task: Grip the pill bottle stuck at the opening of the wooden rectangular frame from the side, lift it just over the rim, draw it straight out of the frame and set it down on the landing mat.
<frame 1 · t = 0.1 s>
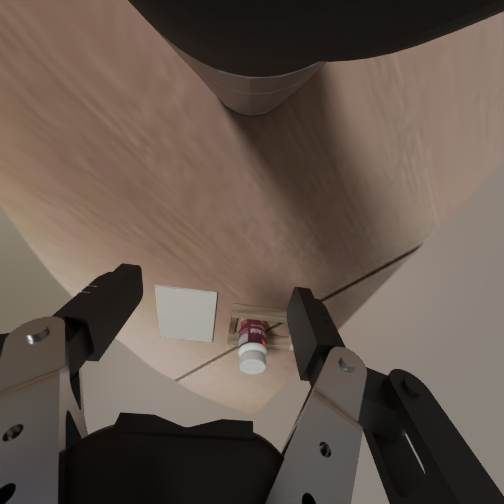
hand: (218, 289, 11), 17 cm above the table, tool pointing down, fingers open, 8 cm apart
landing mat: (186, 315, 36), on the table
wooden rectangular frame: (265, 323, 38), on the table
pill bottle: (252, 321, 38), resting in wooden rectangular frame
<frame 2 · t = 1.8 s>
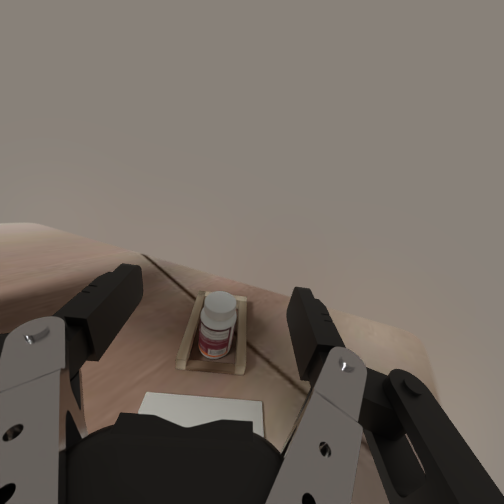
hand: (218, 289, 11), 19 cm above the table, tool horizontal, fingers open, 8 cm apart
landing mat: (195, 458, 19), on the table
wooden rectangular frame: (217, 330, 31), on the table
pill bottle: (214, 345, 29), resting in wooden rectangular frame
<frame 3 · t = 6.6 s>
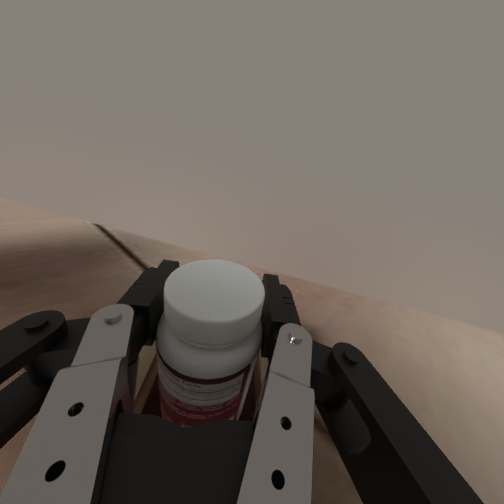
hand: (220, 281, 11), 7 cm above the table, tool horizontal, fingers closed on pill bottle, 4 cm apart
wooden rectangular frame: (210, 358, 14), on the table
pill bottle: (203, 399, 12), resting in wooden rectangular frame, touching gripper
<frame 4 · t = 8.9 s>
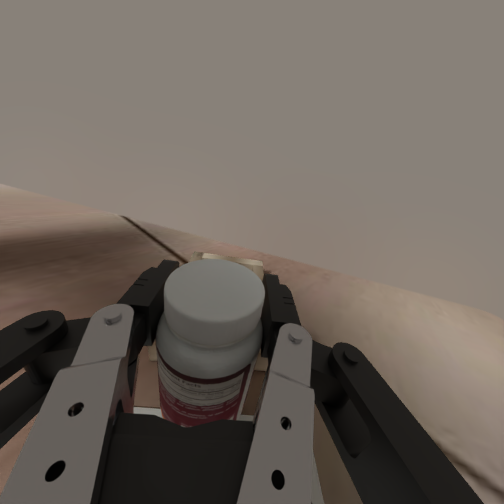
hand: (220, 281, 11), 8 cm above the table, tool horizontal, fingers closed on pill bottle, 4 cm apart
wooden rectangular frame: (220, 304, 20), on the table
pill bottle: (203, 398, 12), point 1 cm above the table, touching gripper
when the fingers open (8 cm above the table, at t = 11.2 s): pill bottle stays where it is, resting on landing mat.
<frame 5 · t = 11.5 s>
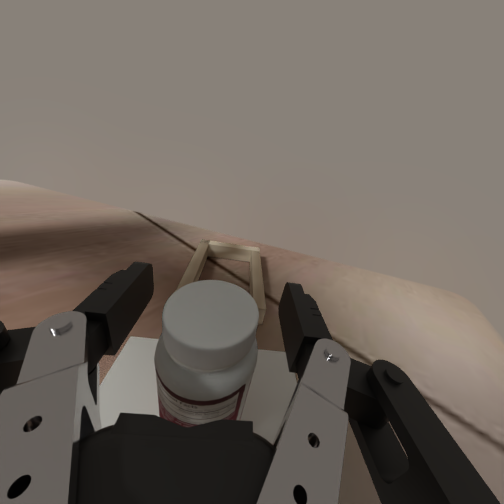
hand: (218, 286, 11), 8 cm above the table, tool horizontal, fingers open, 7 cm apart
landing mat: (200, 420, 12), on the table
wooden rectangular frame: (224, 280, 25), on the table
pill bottle: (201, 411, 12), resting on landing mat
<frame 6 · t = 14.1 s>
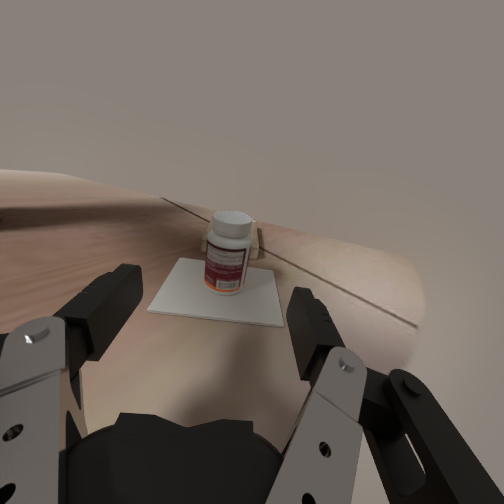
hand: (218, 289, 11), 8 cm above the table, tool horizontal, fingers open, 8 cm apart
landing mat: (223, 287, 24), on the table
wooden rectangular frame: (232, 238, 37), on the table
pill bottle: (223, 285, 24), resting on landing mat
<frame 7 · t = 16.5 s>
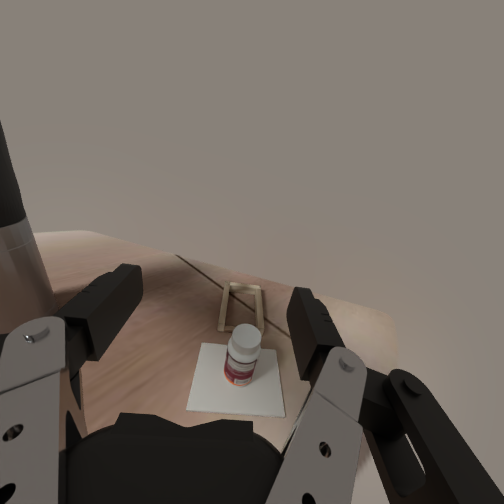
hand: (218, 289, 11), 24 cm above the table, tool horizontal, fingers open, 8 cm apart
landing mat: (238, 376, 31), on the table
wooden rectangular frame: (241, 308, 44), on the table
pill bottle: (238, 373, 31), resting on landing mat
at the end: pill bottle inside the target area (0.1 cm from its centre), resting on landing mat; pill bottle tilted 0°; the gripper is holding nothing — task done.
